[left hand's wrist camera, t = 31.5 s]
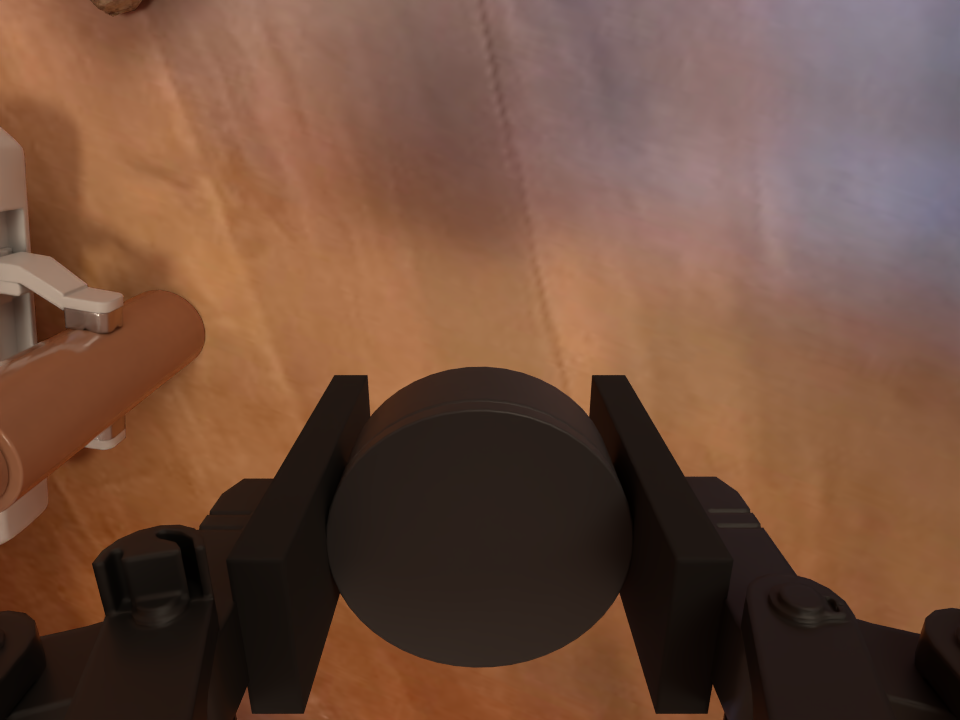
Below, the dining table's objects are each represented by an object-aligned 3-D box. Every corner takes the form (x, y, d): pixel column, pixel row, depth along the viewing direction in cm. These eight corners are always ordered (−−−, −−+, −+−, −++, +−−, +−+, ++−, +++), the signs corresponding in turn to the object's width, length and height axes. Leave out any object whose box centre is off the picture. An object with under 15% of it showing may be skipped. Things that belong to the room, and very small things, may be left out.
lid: (641, 552, 13) (668, 623, 11) (408, 621, 13) (396, 698, 12) (566, 326, 11) (583, 365, 9) (303, 416, 12) (270, 469, 10)
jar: (107, 322, 35) (-197, 478, 19) (161, 273, 34) (-111, 396, 18) (167, 381, 36) (-72, 573, 21) (222, 335, 35) (15, 501, 20)
